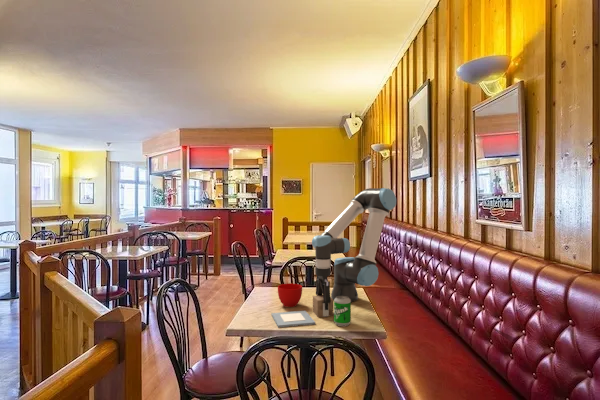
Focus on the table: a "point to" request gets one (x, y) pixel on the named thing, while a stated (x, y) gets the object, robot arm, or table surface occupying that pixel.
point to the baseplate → (292, 319)
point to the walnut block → (321, 306)
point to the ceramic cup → (289, 294)
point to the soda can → (342, 311)
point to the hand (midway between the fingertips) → (322, 313)
